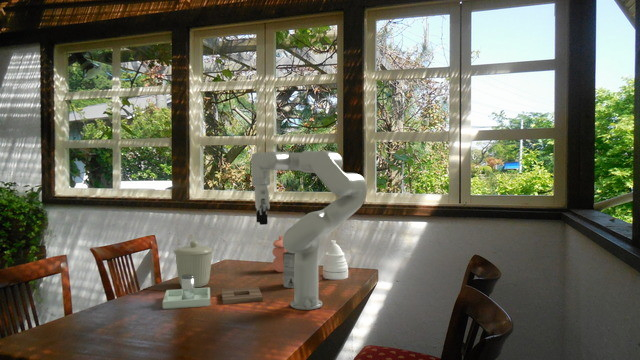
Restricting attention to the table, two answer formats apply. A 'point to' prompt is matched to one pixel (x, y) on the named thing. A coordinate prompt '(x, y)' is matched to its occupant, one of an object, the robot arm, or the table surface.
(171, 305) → the tray
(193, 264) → the canister
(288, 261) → the coffee box
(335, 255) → the honey pot
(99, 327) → the table surface
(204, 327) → the table surface
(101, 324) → the table surface
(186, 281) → the lock pin
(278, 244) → the ceramic vessels
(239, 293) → the wooden base board
